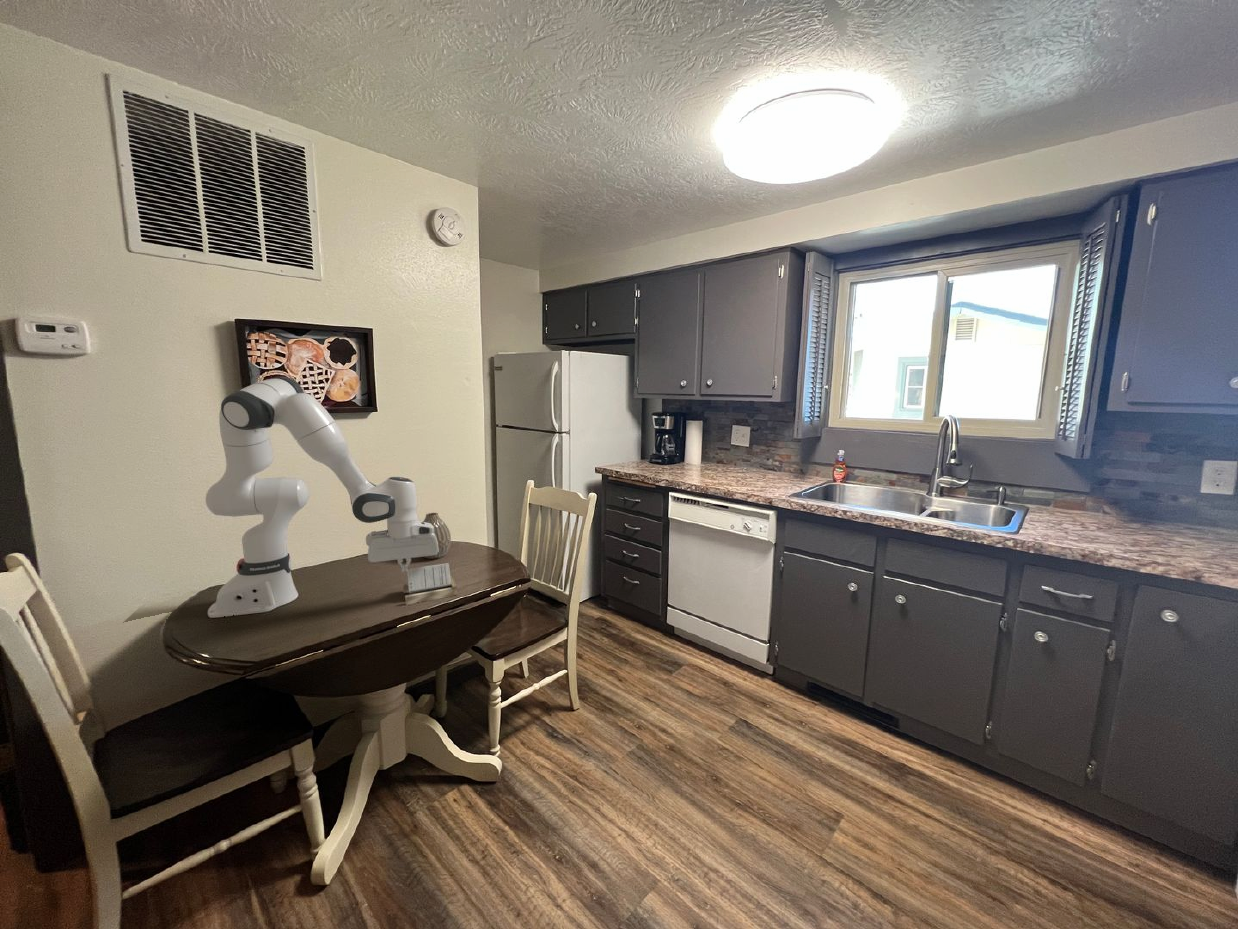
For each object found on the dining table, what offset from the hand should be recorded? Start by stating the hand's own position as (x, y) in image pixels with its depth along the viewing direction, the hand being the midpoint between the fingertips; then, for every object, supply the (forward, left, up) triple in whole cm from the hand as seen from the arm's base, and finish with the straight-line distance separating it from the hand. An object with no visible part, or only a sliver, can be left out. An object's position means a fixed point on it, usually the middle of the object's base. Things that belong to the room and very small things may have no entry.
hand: (404, 571), depth 154 cm
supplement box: (+1, +2, -4) cm, 5 cm away
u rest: (+6, +1, -9) cm, 11 cm away
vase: (+13, +40, -9) cm, 43 cm away
